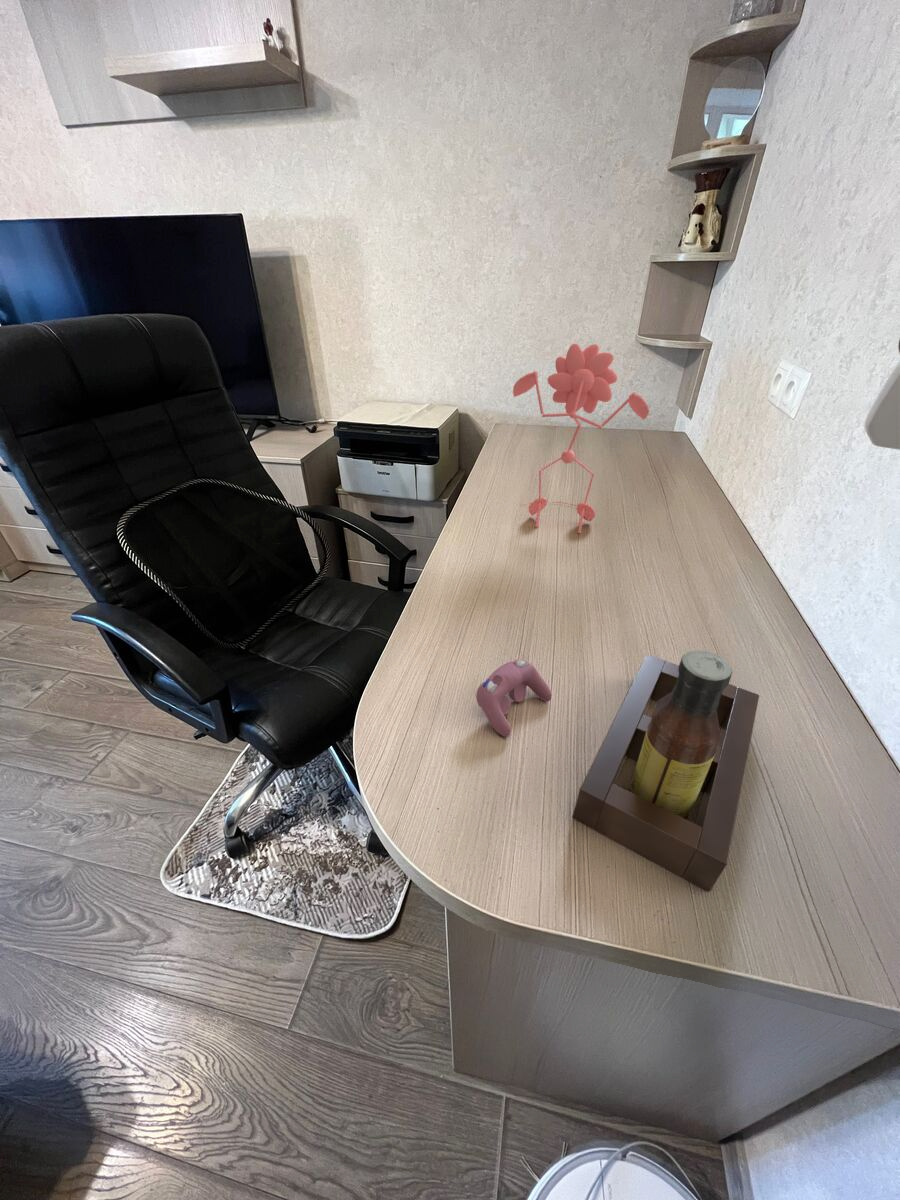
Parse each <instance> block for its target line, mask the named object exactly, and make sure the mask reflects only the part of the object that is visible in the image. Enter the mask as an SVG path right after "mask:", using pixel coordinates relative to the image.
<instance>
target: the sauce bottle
mask: <svg viewBox="0 0 900 1200" xmlns="http://www.w3.org/2000/svg"><path fill="white" fill-rule="evenodd" d="M678 665H679V668H678V671H679V675H678V679H677V681H676V685H675V686H674V688H673V691H672V692H671V693H669V694H668V695H666V696H664V697H663V698H661V699H659V700H658V701H656V702H655V705H654V708H653V711H652V713H651V716H650V717H651V721H650V723H649V725H648V727H647V731H646V734H645V738H644V741H643V745H642V748H641V752H640V755H639V758H638V761H636V765H635V768H634V772H633V775H632V778H631V782H630V792H631V793H633V794H635V795H637V796H639V797H641V798H643V799H645V800H647V801H649V802H651V803H654V804H656V805H658V806H660V807H662V808H664V809H666V810H668V811H670V812H672V813H674V814H676V815H678V816H680V817H682V818H684V819H686V820H687V819H688V818H689V816H690V814H691V812H692V811H693V810H694V807H695V804H696V802H697V799H698V796H699V795H700V792H701V791H702V790H701V787H702V785H703V782H704V780H705V777H706V775H707V773H708V770H709V768H710V765H711V763H712V761H713V758H714V756H715V753H716V750H717V744H718V741H719V739H720V737H721V733H720V726H719V723H718V716H717V710H716V709H717V708H718V705H719V700H720V696H721V694H722V692H723V690H724V689H725V688H726V687H727V686H728V684H730V682H731V678H732V675H733V669H732V666H731V665H730V663H728V662H727V661H726V660H725V659H724V658H723V657H722V656H720V655H718V654H717V653H715V652H712V651H708V650H699V649H698V650H691V651H686V653H684V654H683V655H682V657H681V659H680V662H679V664H678Z"/></svg>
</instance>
